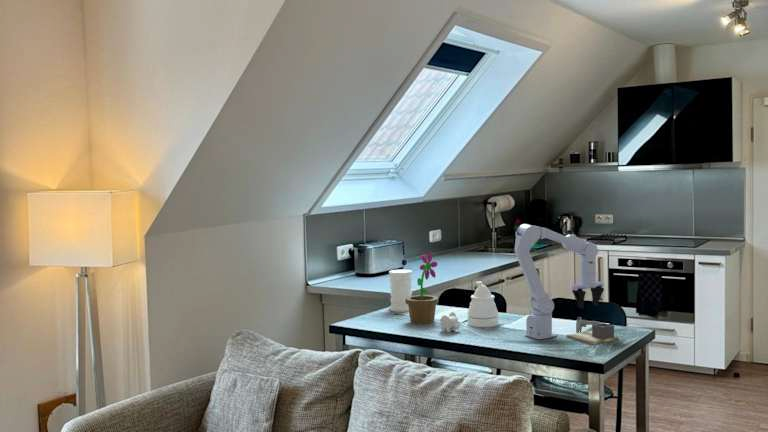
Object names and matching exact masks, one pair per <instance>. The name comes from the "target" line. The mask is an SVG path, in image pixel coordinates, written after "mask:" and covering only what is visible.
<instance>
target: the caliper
mask: <svg viewBox="0 0 768 432" xmlns="http://www.w3.org/2000/svg"><path fill="white" fill-rule="evenodd" d="M575 323H576V324H575V333H576V332H579V331H580V332H579V333H581V332H582V329H583V328H586V327H587V326H592V325H594V324H600V323H601V322H600V321H596V320H587V319H582V317H580V316H578V317H577V319H576V322H575Z"/></svg>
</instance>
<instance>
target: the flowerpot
mask: <svg viewBox="0 0 768 432" xmlns="http://www.w3.org/2000/svg"><path fill="white" fill-rule="evenodd" d="M420 257H421V261H422V262H423V263H424V264H421V265H420V266H419V270H421V271H422V272H421V273H422V274H421V278H417V281H416V282H417V285H418V286H419V287H420V295H418V294H417V295H411V296H409V297H406V299H405V303H406V304H408V307H409V311H408V313H409V319H410V323H412V324H414V325H415V324H416V325H427V324H429V325H430V324H433V323H434V322H435V316H436V306H437V304H439V301H440V300H439V297H438V296H436V295H430V294H429V295H428V293H429V291H428V290H427V289H426V288H425V287H424V277H425V280H428V279H429V278H430V276H431V277H432V278H436V277H437V275H436V272H435V270H434V269H433V268H435V267H437V266H438V262H437V261H433V259H432V258H433V254H432V252H431V251H429V252H428V254H427V256H426V255H424V254H421V256H420ZM426 293H427V294H426Z"/></svg>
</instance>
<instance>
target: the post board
mask: <svg viewBox="0 0 768 432" xmlns="http://www.w3.org/2000/svg"><path fill="white" fill-rule="evenodd" d="M602 327H604V326H602ZM567 337H568V338H567ZM566 338H567V339H570V338H572V339H571V340H574V339H575V340H574V341H577V340H578V341H577V342H581V343H584V342H585V344H588V345H595V344H601V343H606V342H612V341H618V340H619V339H620V338H619V336H616V335H614V338H608V339H600V338H596V337H592V330H588V331H581V332H579V333H576V332H575V333H571V334H570V333H569V334H566Z"/></svg>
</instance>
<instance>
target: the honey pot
mask: <svg viewBox="0 0 768 432" xmlns="http://www.w3.org/2000/svg"><path fill="white" fill-rule="evenodd" d="M475 283H476V286H477V287H476V289H475V291H474V293H473V294H471V296H470V299H471V301H470V302H469V307H468V310H467V325H468V324H469V325H468V326H470V325H471V327H477V328H478V327H479V328H491V327H496V326H498V325H499V311H498V308H497V306H496V303H495V298H496V297H495V295H494V294H492V293H491V291H490V290H489V288H488V287H487V286H486V285H485V284H483V281H476V282H475Z"/></svg>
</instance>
